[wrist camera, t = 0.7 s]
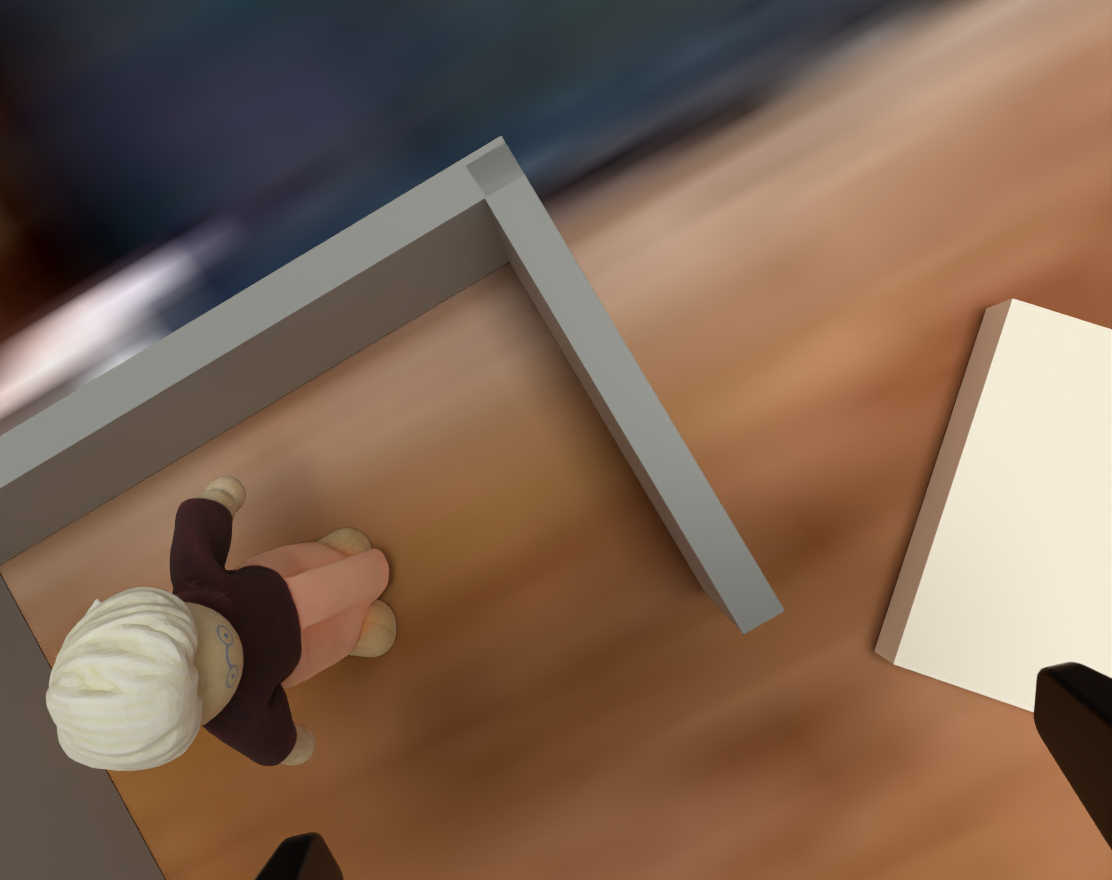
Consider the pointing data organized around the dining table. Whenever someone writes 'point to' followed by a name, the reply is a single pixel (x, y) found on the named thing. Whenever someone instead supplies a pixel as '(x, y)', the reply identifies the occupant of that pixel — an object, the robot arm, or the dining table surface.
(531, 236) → the open crate
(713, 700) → the dining table surface
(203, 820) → the dining table surface
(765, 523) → the dining table surface
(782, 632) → the dining table surface
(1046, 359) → the ceramic tile
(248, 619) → the grandmother figurine
